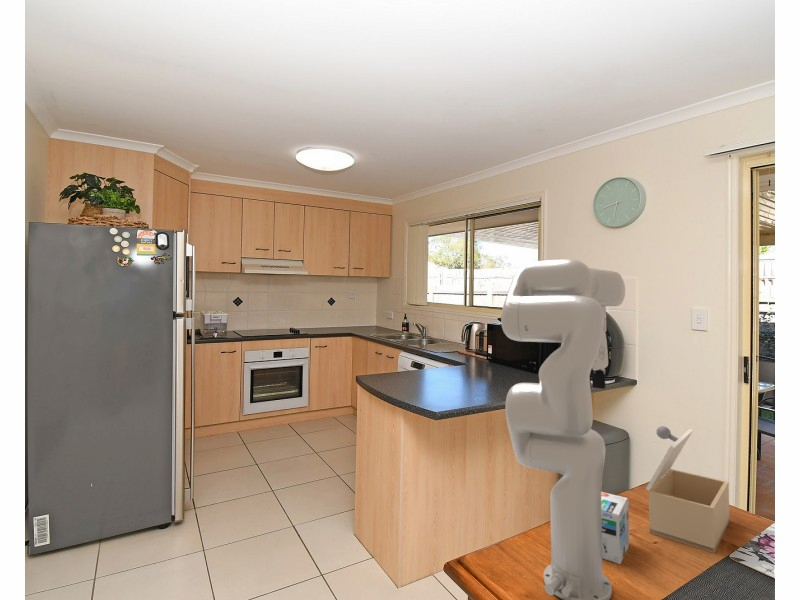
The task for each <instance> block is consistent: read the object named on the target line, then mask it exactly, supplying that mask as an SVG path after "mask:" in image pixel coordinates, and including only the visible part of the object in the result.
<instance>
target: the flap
mask: <svg viewBox="0 0 800 600" xmlns="http://www.w3.org/2000/svg"><path fill="white" fill-rule="evenodd" d="M693 431H694V429H692V428H691V427H690V428H689V429H687V431H685V432H684V433H683V434H682V435H681V436H680V437H677V436H675V435H673V434H672V433H671V430H670V429H669V427H667V426H663V425H662V426H658V427H657V429H656V435H657V437H659V438H660V439H662V440H667V439H670V440H671V441H672V442H673V443H672V444H671V445H670V446H669V448H668V450H667V452H666V453H665V455H664V456H663V459H662V460H661V461H660V464H659V465H658V466H657V468H656V470H655V472H654V474H653V475H652V477H651V479H650V481H649V482H648V484H647V485H646V487H645V490H647V491H648V492H649V491H650V490H651V489H652V488H653V487H654V486H655V485H656V484H657V483H658V481H659V480H660V479H661V478H662V477H663V476H664V475H665V474H666V473H667V472H668V471H669V470H670V469H672V467H673V465H674V463H675V462H676V461H677V458H678V456H679V455H680V454H681V452H682V450H683V448H684V447H685V445H686V443H687V442H688V440H689V438H690V436H691V435H692V433H693Z"/></svg>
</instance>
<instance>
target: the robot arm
mask: <svg viewBox="0 0 800 600" xmlns="http://www.w3.org/2000/svg"><path fill="white" fill-rule="evenodd" d="M625 296H626V285H625V281H624V279H623V277H622V275H621V274H620V273H619V272H617V271H613V270H606V269H605V270H604V269H599V268H593V267H588V266H587V265H586V263H584V262H582V261H580V260H577V259H573V258H570V259H569V258H563V259H562V258H561V259H560V258H559V259H548V260H545V259H544V260H532V261H526V262H525V263H523V264H522V265H521V266H519V268H518V269H517V271H516V272H515V274H514V276H513V278H512V281H511V283H510V287H509V289H508V291H507V294H506V296H505V300H504V303H503V306H502V310H501V315H500V317H501V318H500V320H501V321H500V322H501V328H502V331H503V334H505V336H506V337H507V338H508V339H510V340H513V341H515V342H516V341H517V342H523V343H524V342H526V343H528V342H530V343H531V342H532V343H534V342H535V343H561V344H562V345H561V346H559V347H558V348H557V349H556V350H553V352H552V353H550V354H549V356H548V357H547V358H546V359H545V360H544V361H543V363H542V364H541V366H540V368H539V370H538V379H539V383H538V382H537V383H536V382H519V383H516V384H514V385H513V386H511V387H510V389H509V390H508V392H507V394H506V398H505V406H504V407H505V419H506V424H507V429H508V432H509V437H510V440H511V445H512V449H513V453H514V455H515V458H516V460H517V462H518V464H520V465H522V466H523V467H526V468H530V469H534V470H538V471H539V470H540V471H546V472H552V473H556V474H561V475H562V477H561V478H559V480H558V481H556V483H555V484H554V485H553V487H552V489H551V490H550V496H549V497H550V499H549V501H550V502H549V504H550V505H549V507H550V509H549V510H550V513H549V514H550V554H551V555H550V559H551V563H550V564H548V565H547V567H546V568H545V569H544V570H543V583H544V584H545V585H544V591H545V592H546V594H548V595H549V596H554V595H555V596H556V597H558V598H560V599H561V600H610V599H611V598H612V595H613V591H612V590H613V587H612V586H613V585H612V583H611V582H610V580H609V578H608V577H607V576H606V575H605V574H604V573H603V570H604V569H603V558H602V513H601V511H602V510H601V492H602V487H603V486H602V485H603V473H604V466H605V460H606V443H605V441H604V438H603V437H602V435H601V434H599V432H598V431H596V430H593V429H592V426H593V422H594V411H593V410H594V409H593V399H592V388H593V389H594V388H595V389H602V390H603V389H604V390H605V389H606V369H605V368H607V367H608V365H609V353H608V341H607V334H606V332H607V307H618V306H620V305H622V304H623V302H624V300H625ZM592 371H593V372H592ZM590 376H592V379H591V378H590ZM591 382H592V383H591ZM591 384H592V385H591Z"/></svg>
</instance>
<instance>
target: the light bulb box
mask: <svg viewBox="0 0 800 600" xmlns="http://www.w3.org/2000/svg"><path fill="white" fill-rule="evenodd" d="M629 509H630V508H629V498H628V497H625V496H620V495H615V494H612V493H607V492H604V491H601V510H602V511H601V513H602V560H606V561H608V562H613V563H615V564H618V565H621V564H622V562H623V560H624V557H625V555H626V553H627V551H628V549H629V546H630V510H629Z"/></svg>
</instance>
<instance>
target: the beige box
mask: <svg viewBox="0 0 800 600" xmlns="http://www.w3.org/2000/svg"><path fill="white" fill-rule="evenodd" d="M729 483H730V482H729V481H727V480H722V479H718V478H713V477H710V476H703V475H700V474H695V473H691V472H686V471H681V470H677V469H672V468H671V469H670V470H669V471H668V472H667V473H666V474H665V475H664V476H663V477H662V478H661V479H660V480H659V481H658V482H657V483H656V484H655V485H654V486H653V487H652V488H651V489H650V490H649V491H648V515H649V516H648V518H649V520H648V521H649V534H653V535H655V536H659V537H662V538H665V539H669V540H671V541H674V542H678V543H680V544H685V545H687V546H691V547H694V548H696V549H699V550H703V551H706V552H709V553H711V554H716V551H717V549H718V547H719V545H720V543H721V540H722V538H723V537H724V534H725V532H726V529H727V528H728V525H729V523H730V493H729V492H730V488H729V487H730V485H729Z"/></svg>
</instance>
